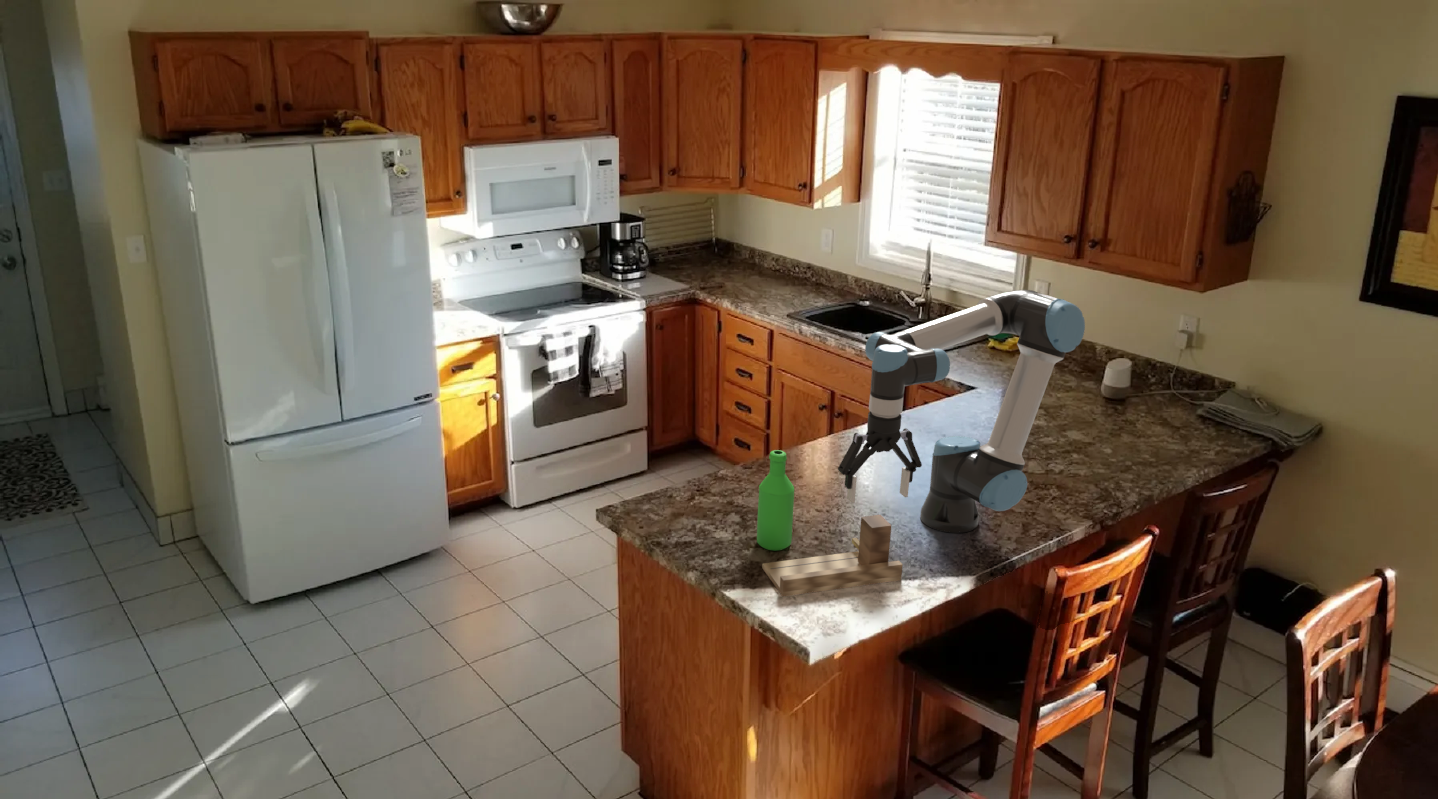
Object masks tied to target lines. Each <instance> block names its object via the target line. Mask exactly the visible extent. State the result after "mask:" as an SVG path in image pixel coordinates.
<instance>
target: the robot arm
mask: <svg viewBox="0 0 1438 799" xmlns="http://www.w3.org/2000/svg"><path fill="white" fill-rule="evenodd" d="M1083 314H1084V313H1083V312H1082V310H1081V309H1080V307H1078V306H1077V305H1076V304H1074V303H1072V302H1069V301H1067V300H1065V299H1063V298H1058V297H1054V296H1051V295H1047V294H1046V293H1041V292H1038V291H1035V290H1031V289H1015V290H1010V291H1006V292H1001V293H1000V292H999V293H997V294H993V295H991V296H987V297H984V298H981V299H980V300H979V301H978V302H977V305H974V306H971V307H968V308H965V309H962V310H959V311H957V312H954V313H950V314H948V315H945V316H942V317H938V318H936V319H934V320H933V319H932V320H930V321H927V322H925V323H921V324H918V325H916V326H913V327H910V328H907V329H903V330H901V331H898V332H895V333H891V334H890V333H888V332H883V331H877V332H876V331H875V332H874V333H872V334H871V335H870V336H869V337H868V339H867V340H866V343H865V346H864V348H865V355H866V357H867V358H868V359H869V360H870V361H872V362H871V377H870V378H871V379H870V391H869V392H870V393H869V400H868V401H869V402H868V411H869V412H868V413H867V414H868V415H867V424H866V425H867V427H866V428H867V430H866V433H865V434H863V433H862V434H860V433H859V432H855V433H854V434H853V435H852V436H853V437H852V442H851V443H850V446H849V448H848V450H846V453H845V455H844V456H843V458H842V460H841V462H840V464H839V466H838V467H837V470H838V472H840V473H841V474H842V475H843V476H844V477H845V478H844V486H845V488H846V490H847V492H846V493H847V494H846V499H847V500H848V501H849V502H850V503H851V504H855V502H856V490H857V480H858V479H857V478H858V477H857V476H856V473H857V472H859V470H860V469H861V468H862V466H864V464H865V463H866V462H867V460H868V459H869V458H870V457H871V456H873V455H874V454H875V453H883V452H886V453H888V452H891V450H893V452H894V453H895V455H896V456H897V457H898V458H899V460H900V461H901V462H902V463H903V465H904V467H903V466H902V467H901V474H900V475H901V476H900V486H899V494H900V495H901V496H903V497H904V498H908V497H909V488H910V486H909V485H910V483H912V482H913V477H914V473H915V472H916V471H917V468H922V466H923V464H922V461H921V458H920V456H919V453H918V451H917V449H916V446H915V444H914V441H913V432H912V431H910V430H909V429H908V428H906V427H905V428H903V430H901V428H902V427H901V426H902V413H903V406H904V394H905V387H908V386H914V385H921V384H926V383H931V384H932V383H934V382H938V381H941V380H942V381H943V380H944V379H945V378H947V377H948V376H949V373H950V369H951V368H950V367H951V362H950V361H951V360H950V358H949V355H948V353H947V352H946V351H945V349H947V348H950V347H953V346H956V345H960V344H962V343H965V342H967V341H970V340H974V339H976V338H978V337H981V336H982V337H983V336H984V335H989V336H996V335H1000V334H1013V335H1015V336H1019V337H1018V340H1017V342H1016V343H1017V344H1016V346H1017V347H1018V349H1019V352H1020V354H1019V356H1018V357H1017V358H1018V359H1017V362H1016V364H1015V367H1014V370H1013V373H1012V376H1011V378H1010V381H1009V382H1008V383H1009V384H1008V387H1007V389H1006V392H1005V395H1004V398H1003V400H1002V403H1001V406H1000V409H999V411H998V414H997V417H996V420H995V423H994V425H993V428H992V431H991V433H990V436H989V439H988V442H987V443H985V444H982V445H981V442H980V441H979V440H978V439H976V438H973V437H970V436H963V435H961V436H960V435H958V436H956V435H955V436H954V435H953V436H945V437H942V438H939V439H938V440H937V441H935V444H934V448H933V453H932V459H931V472H930V482H929V484H930V485H929V491H928V494H927V496H926V498H925V499H924V500H925V501H924V503H923V505H922V506H921V509H920V517H919V518H920V520H921V522H922V523H923V524H924V525H926V526H927V527H929V528H930V529H933V530H937V531H940V532H945V533H951V534H953V533H954V534H956V533H957V534H958V533H959V534H960V533H962V534H963V533H966V532H970V531H973V530H976V529H977V527H978V526H979V519H980V516H979V510H978V506H977V503H979V504H980V505H982V506H983V507H985V508H989V509H990V510H993V511H996V512H1005V511H1008V510H1010V509H1012V508H1013V507H1014V506H1016V505H1017V504H1019V502H1020V501H1021V500H1022V499H1023V497H1024V496H1025V493H1026V491H1027V488H1028V479H1027V476H1026V474H1025V473H1024V472H1023V469H1024V466H1025V464H1026V462H1025V460H1024V458H1023V455H1022V454H1023V451H1024V449H1025V446H1026V444H1027V440H1028V437H1029V436H1030V432H1031V429H1032V427H1033V425H1034V421H1035V419H1036V416H1037V413H1038V411H1039V408H1040V405H1041V403H1042V400H1043V397H1044V395H1045V391H1046V389H1047V386H1048V384H1049V382H1050V381H1049V380H1050V378H1051V375H1052V372H1053V370H1054V367H1055V365H1056V363H1058V362H1061V361H1063V360H1064V359H1065V356H1066V353H1070V352H1072V351H1074V350H1075V349H1076V347H1078V346H1079V345H1080V344H1081V342H1082V340H1083V338H1084V334H1085V329H1086V322H1085V317H1084V316H1083ZM900 439H902V440H903V443H904V446H905V447H906V450H907V453H908V454H909V457H910V459H909V458H908V456H906V454H905V453H904V452H903V450H902V449H901V448H900V446H899V445H898V442H899V440H900ZM865 441H866V443H865ZM863 444H864V445H863ZM862 446H863V447H862ZM861 448H862V449H861ZM910 460H911V461H910Z"/></svg>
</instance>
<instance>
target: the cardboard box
mask: <svg viewBox="0 0 1438 799" xmlns="http://www.w3.org/2000/svg"><path fill="white" fill-rule="evenodd" d="M891 534H892V524H891V523H889V521H888V520H886V518H885V517H884V516H882V514H876V515H875V514H874V515H873V514H872V515H866V516H861V517H860V530H859V538H857V537H853V538H851V544H852V545H853V547H852V548H854V549H855V548H856V549H857V550H858V551H859V553H858V563H859V564H860V565H869V564H876V563H884V562H889V558H890V548H891V547H890V546H891Z"/></svg>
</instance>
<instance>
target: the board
mask: <svg viewBox="0 0 1438 799" xmlns="http://www.w3.org/2000/svg"><path fill="white" fill-rule="evenodd" d="M858 553H859V550H858V551H857V550H856V551H848V552H841V553H835V554H834V553H833V554H826V555H819V556H818V555H817V556H810V557H803V558H797V559H796V558H795V559H787V560H780V561H779V560H777V561H772V562H765V563H762V566H761V567H762V569H763V571H764V572H765V574H766V576H768V578H769V580H770V581H771V583H772V584H773V585H774V587H775V588H776V589H777V591H778V592H779V594H780V595H781V596H782V597H791V596H796V595H804V594H811V593H819V592H827V591H833V590H841V589H847V588H855V587H861V586H868V585H877V584H883V583H888V582H889V583H891V582H898V581H902V574H903V573H902V572H903V563H902V562H901V561H900V560H892V561H888V562H884V563H876V564H869V565H860V564H859V563H858Z"/></svg>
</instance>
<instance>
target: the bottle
mask: <svg viewBox="0 0 1438 799" xmlns="http://www.w3.org/2000/svg"><path fill="white" fill-rule="evenodd" d="M787 457H788V456H787V452H785V451H784V450H781V449H780V450H779V449H777V450H776V449H774V450H771V451H770V453H769V456H768V459H769V473H768V474H767V475H766V476H765V478H764V479H763V480H762V481H761V483H759V485H758V499H757V500H758V501H757V503H758V504H757V521H756V522H757V524H756V525H757V526H756V543H757V544H758V545H759V546H760V547H762V548H763V549H764V550H765V549H766V550H768V551H773V552H777V551H782V550H785V549H787V548H789V546H790V545H792V540H793V539H792V538H793V537H792V536H793V524H794V523H793V521H794V520H793V518H794V507H795V506H794V505H795V503H794V502H795V500H794V499H795V486H794V485H793V483H792V482H791V480H790V479H789V477H788V476H787V474H786V462H787V460H788V458H787Z"/></svg>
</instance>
